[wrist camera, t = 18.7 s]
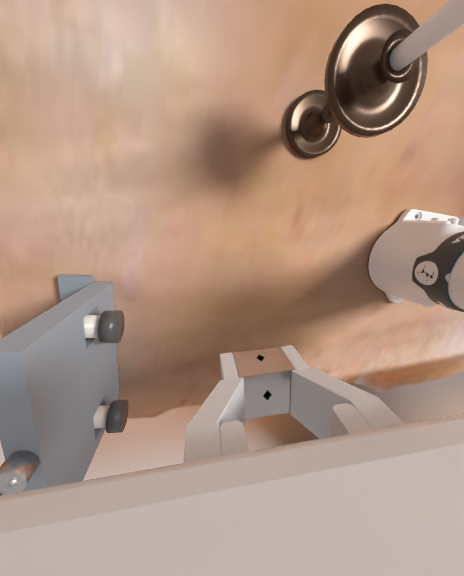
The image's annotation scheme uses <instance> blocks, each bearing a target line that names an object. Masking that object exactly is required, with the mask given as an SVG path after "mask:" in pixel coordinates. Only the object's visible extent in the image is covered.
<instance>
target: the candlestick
mask: <svg viewBox="0 0 464 576" xmlns="http://www.w3.org/2000/svg"><path fill="white" fill-rule="evenodd" d="M463 24H464V0H450V1H449V2H448V3H446V4H445V5H444V6H443V7H442V8H441V9H439V10H438V11H437V12H436V13H435V14H434V15H432V16H431V17H430V18H429V19H428V20H427V21H426V22H424V23H423V24H422V25H421V26H419V25H418V23H417V22H416V20H415V19H414V18H413V16H412V15H410V14H409V13H408V12H407V11H406V10H404V9H402V8H400V7H398V6H396V5H390V4H380V5H375V6H372V7H370V8H367V9H365V10H364V11H362V12H361V13H359V14H358V15H357V16H355V17H354V19H353V20H352V21H351V22H350V23H349V24H348V25H347V26H346V27H345V29H344V30H343V31H342V33H341V34H340V36H339V37H338V39H337V40H336V42H335V43H334V45H333V48H332V50H331V52H330V55H329V58H328V62H327V65H326V71H325V91H322V90H312V91H309V92H306V93H305V94H303V95H302V96H301V97H300V98H299V99H298V100H297V101H296V102H295V103H294V104H293V106H292V108H291V109H290V112H289V114H288V118H287V123H286V132H287V137H288V140H289V143H290V145H291V146H292V148H293V149H294V150H295V151H296V152H297V153H298V154H300V155H302V156H304V157H308V158H314V157H318V156H321V155H323V154H325V153H326V152H328V151H329V150H330V149H331V148H332V147H333V146H334V145H335V143H336V142H337V140H338V138H339V136H340V133H341V129H343V130H345V131H346V132H348V133H349V134H351V135H354V136H357V137H365V138H368V137H374V136H378V135H380V134H382V133H385V132H387V131H389V130H391V129H393V128H394V127H396V126H397V125H399V124H400V123H401V122H402V121H403V120H404V119H405V118H406V117H407V116H408V115H409V114H410V112H411V111H412V110H413V108H414V107H415V105H416V103H417V101H418V99H419V97H420V95H421V92H422V90H423V87H424V83H425V79H426V74H427V62H428V59H427V51H428V50H429V49H430V48H432V47H433V46H435V45H436V44H437V43H439V42H440V41H441V40H443V39H444V38H446V37H447V36H448V35H450V34H451V33H452V32H454V31H455V30H457V29H458V28H459V27H461V26H462V25H463Z"/></svg>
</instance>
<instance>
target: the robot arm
mask: <svg viewBox="0 0 464 576" xmlns="http://www.w3.org/2000/svg"><path fill="white" fill-rule="evenodd" d="M369 274H370V277H371V280H372V281H373V283H374V284H375V285H376V286H377V287H378V288H379V289H381V290H382V291H384V292H385V294H386V296H387V298H388V299H389V301H390V302H393V303H399V302H403V301H408V302H411V303H415V304H418V305H421V306H424V307H431V306H435V305H438V304H440V305H442V306H444V307H446V308H449V309H453V310H458V311H461V312H464V217H454V216H449V215H443V214H438V213H433V212H427V211H422V210H416V209H407V210H405V211H404V212H403V214H402V215H401V216H400V218H399V219H398V221H397V222H396V223H395V224H394V225H393V226H391V227H390V228H388V229H387V230H386V231H385V232H384V233H383V234H382V235H381V236H380V237H379V238H378V240H377V241H376V243H375V244H374V246H373V248H372V251H371V254H370V257H369ZM220 369H221V380H220V381H219V382H218V384H217V385H216V386H215V388H214V389H213V391H212V392H211V393H210V395H209V396H208V397H207V399H206V400H205V402H204V403H203V404H202V406H201V407H200V409H199V410H198V411H197V413H196V414H195V416H194V417H193V418H192V420H191V421H190V422H189V424H188V425H187V427H186V435H185V450H184V463H182V464H177V465H171V466H165V467H160V468H154V469H148V470H142V471H137V472H132V473H126V474H120V475H114V476H109V477H103V478H97V479H92V480H86V481H80V482H75V483H69V484H63V485H58V486H52V487H46V488H41V489H35V490H29V491H24V492H18V493H12V494H6V495H1V496H0V576H464V414H459V415H453V416H448V417H442V418H437V419H432V420H425V421H420V422H414V423H408V424H404V423H403V422H402V421H401V420H400V419H399V418H398V417H397V416H396V415H395V414H394V413H393V412H392V411H391V410H390V409H389V408H388V407H387V406H386V405H385V404H384V403H383V402H382V401H381V400H380V399H379V398H378V397H376V396H374V395H372V394H370V393H368V392H365V391H363V390H361V389H359V388H357V387H354V386H352V385H350V384H348V383H346V382H344V381H341V380H339V379H337V378H335V377H333V376H330V375H328V374H326V373H324V372H322V371H320V370H317V369H315V368H309V367H308V365H307V364H306V363H305V361H304V360H303V359H302V357H301V356H300V355H299V353H298V352H297V351H296V350H295V348H294V347H293V346H292V345H286V346H280V347H274V348H267V349H260V350H249V351H239V352H229V353H221V354H220ZM284 413H290V414H291V415H292V416H293V417H294V418H296V419H297V420H298V421H299V422H300V423H302V424H303V425H304V426H305V427H306V428H308V429H309V430H310V431H311V432H312V433H313V434H315V435H316V436H317V437H318V438H319V439H318V440H312V441H306V442H301V443H295V444H290V445H283V446H278V447H273V448H267V449H261V450H255V451H250V452H249V448H248V444H247V440H246V435H245V431H244V424H245V420H247V419H252V418H257V417H263V416H267V415H275V414H284Z"/></svg>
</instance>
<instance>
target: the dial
mask: <svg viewBox="0 0 464 576" xmlns="http://www.w3.org/2000/svg"><path fill="white" fill-rule="evenodd" d="M39 465H40V459H39V457H38V456H37V455H36V454H34V453H32V452H30V451H16V452H14V453H12V454H11V455H9V457H8V458H7V459H6V460H5V462H4V463H3V464H2V465H1V467H0V496H1V495H6V494H12V493H18V492H23V490H24V488H25V487H26V485H27V484H28V482H29V481H30V479H31V478H32V476H33V474H34V473H35V471H36V470H37V468H38V467H39Z"/></svg>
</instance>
